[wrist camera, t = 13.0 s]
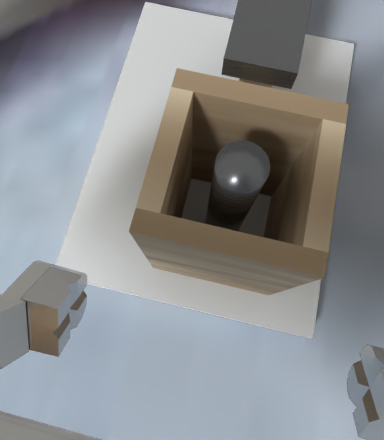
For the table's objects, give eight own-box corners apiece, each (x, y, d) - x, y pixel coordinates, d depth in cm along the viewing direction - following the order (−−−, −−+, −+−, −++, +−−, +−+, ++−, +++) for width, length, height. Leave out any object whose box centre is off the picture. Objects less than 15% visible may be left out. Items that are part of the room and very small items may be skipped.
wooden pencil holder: (268, 295, 16) (325, 277, 10) (152, 267, 17) (128, 231, 10) (303, 100, 19) (365, -21, 12) (203, 78, 19) (211, -51, 13)
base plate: (305, 337, 17) (312, 338, 16) (60, 277, 17) (52, 274, 16) (346, 56, 21) (354, 43, 20) (147, 16, 22) (145, 2, 21)
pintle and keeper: (245, 253, 18) (289, 202, 10) (186, 239, 18) (185, 179, 10) (285, 54, 21) (341, -100, 13) (234, 44, 21) (262, -115, 13)
